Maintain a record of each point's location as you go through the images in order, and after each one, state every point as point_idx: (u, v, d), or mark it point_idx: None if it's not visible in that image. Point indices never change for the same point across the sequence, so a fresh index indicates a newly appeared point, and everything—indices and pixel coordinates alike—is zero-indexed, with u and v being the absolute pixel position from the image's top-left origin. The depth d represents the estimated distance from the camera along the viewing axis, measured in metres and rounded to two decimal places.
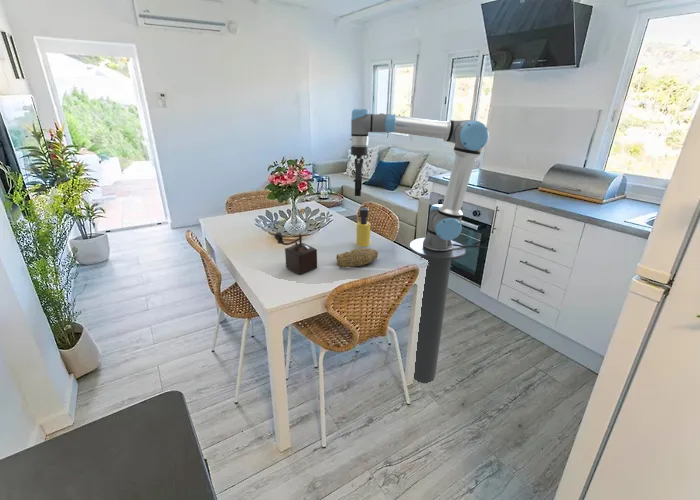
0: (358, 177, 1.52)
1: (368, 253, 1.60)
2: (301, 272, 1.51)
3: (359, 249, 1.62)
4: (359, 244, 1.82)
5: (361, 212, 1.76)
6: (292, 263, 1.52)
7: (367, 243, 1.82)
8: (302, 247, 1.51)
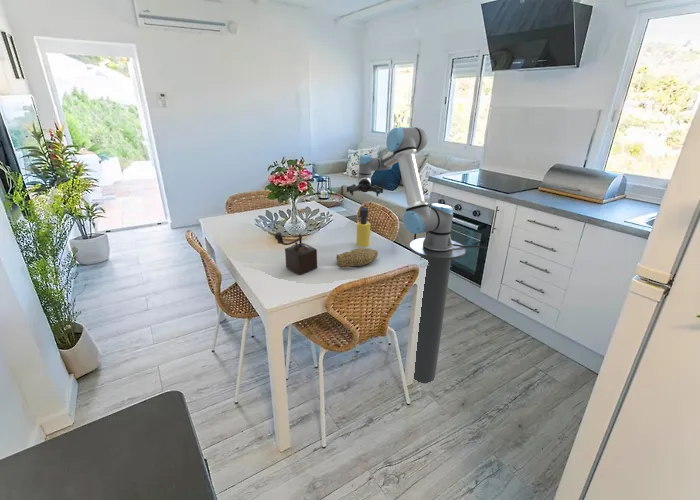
0: None
1: (368, 253, 1.60)
2: (301, 272, 1.51)
3: (359, 249, 1.62)
4: (359, 244, 1.82)
5: (361, 212, 1.76)
6: (292, 263, 1.52)
7: (367, 243, 1.82)
8: (302, 247, 1.51)
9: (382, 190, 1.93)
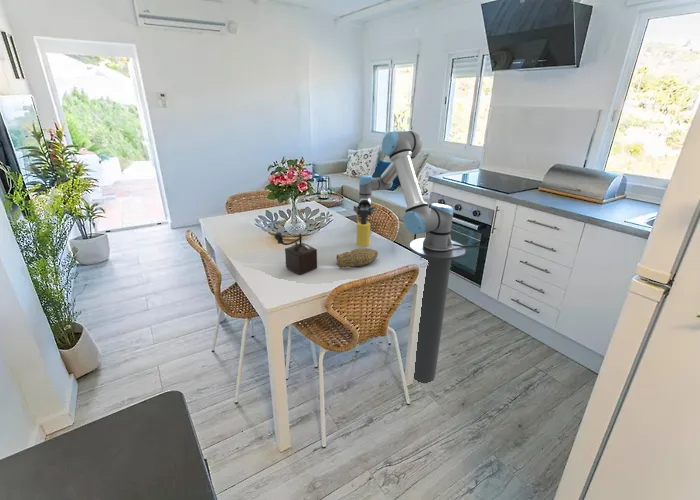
0: (357, 211, 1.93)
1: (368, 253, 1.60)
2: (301, 272, 1.51)
3: (359, 249, 1.62)
4: (359, 244, 1.82)
5: (361, 212, 1.76)
6: (292, 263, 1.52)
7: (367, 243, 1.82)
8: (302, 247, 1.51)
9: (369, 212, 1.91)
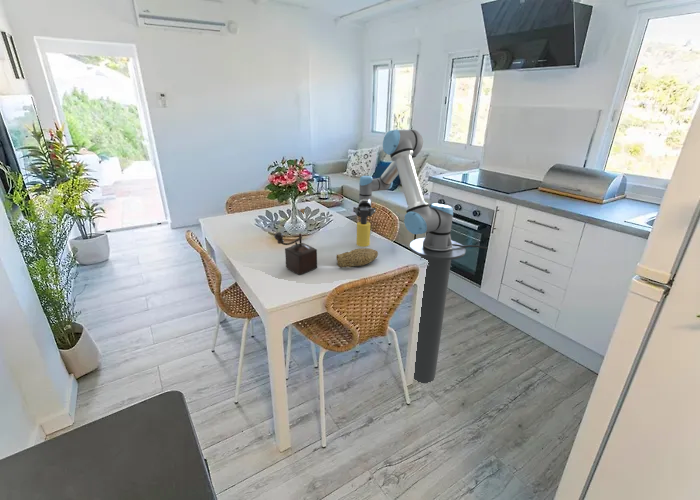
0: (357, 213, 1.90)
1: (368, 253, 1.60)
2: (301, 272, 1.51)
3: (359, 249, 1.62)
4: (359, 244, 1.82)
5: (361, 212, 1.76)
6: (292, 263, 1.52)
7: (367, 243, 1.82)
8: (302, 247, 1.51)
9: (369, 214, 1.89)
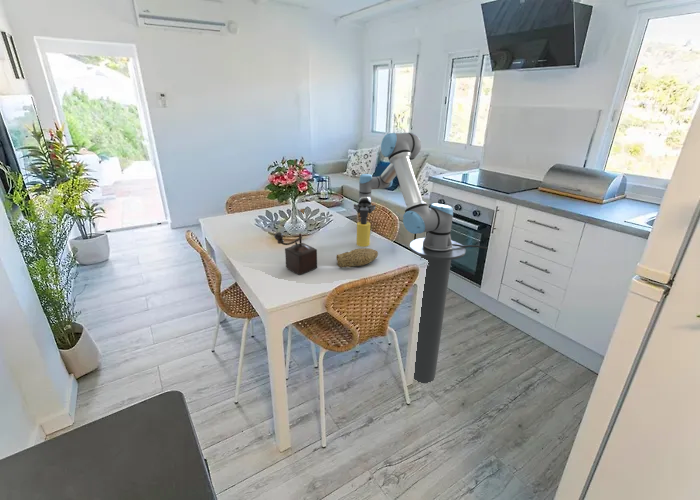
0: (357, 209, 1.96)
1: (368, 253, 1.60)
2: (301, 272, 1.51)
3: (359, 249, 1.62)
4: (359, 244, 1.82)
5: (361, 212, 1.76)
6: (292, 263, 1.52)
7: (367, 243, 1.82)
8: (302, 247, 1.51)
9: (369, 210, 1.94)
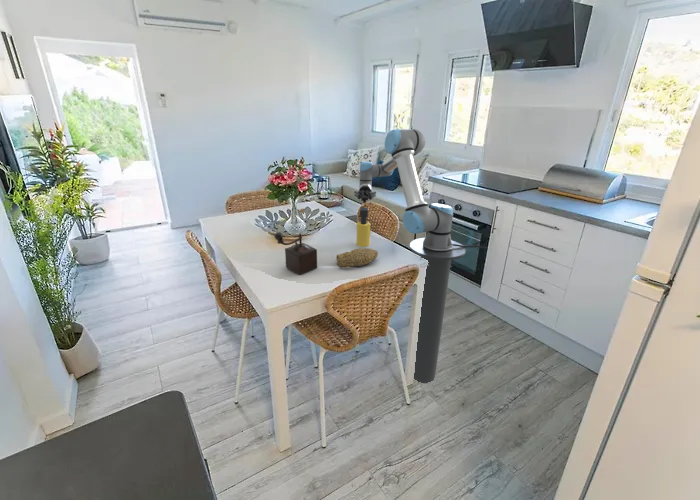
0: (358, 196, 1.94)
1: (368, 253, 1.60)
2: (301, 272, 1.51)
3: (359, 249, 1.62)
4: (359, 244, 1.82)
5: (361, 212, 1.76)
6: (292, 263, 1.52)
7: (367, 243, 1.82)
8: (302, 247, 1.51)
9: (370, 197, 1.93)
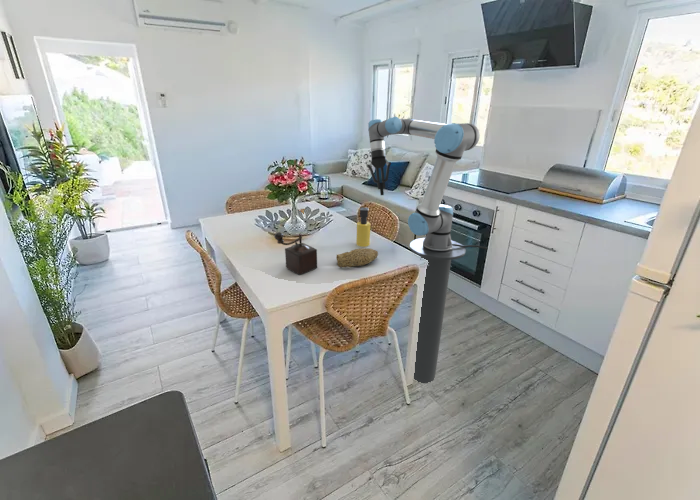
0: (373, 179, 1.86)
1: (368, 253, 1.60)
2: (301, 272, 1.51)
3: (359, 249, 1.62)
4: (359, 244, 1.82)
5: (361, 212, 1.76)
6: (292, 263, 1.52)
7: (367, 243, 1.82)
8: (302, 247, 1.51)
9: (386, 180, 1.86)
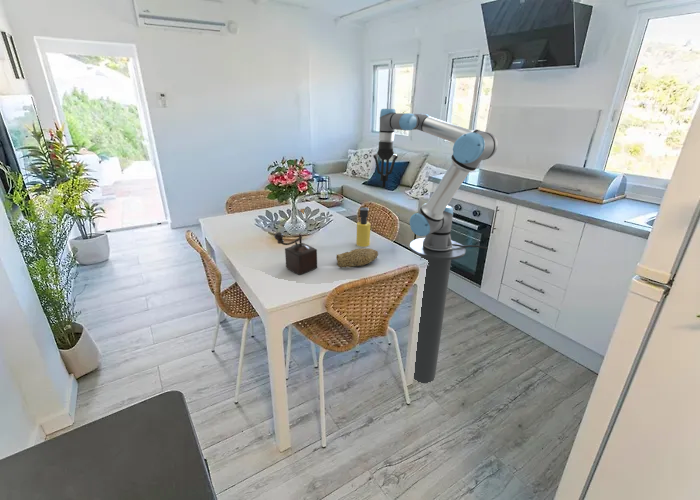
0: (377, 170, 1.84)
1: (368, 253, 1.60)
2: (301, 272, 1.51)
3: (359, 249, 1.62)
4: (359, 244, 1.82)
5: (361, 212, 1.76)
6: (292, 263, 1.52)
7: (367, 243, 1.82)
8: (302, 247, 1.51)
9: (390, 173, 1.84)
